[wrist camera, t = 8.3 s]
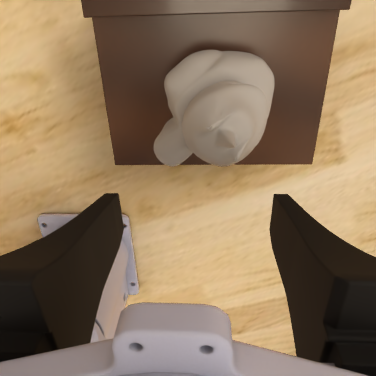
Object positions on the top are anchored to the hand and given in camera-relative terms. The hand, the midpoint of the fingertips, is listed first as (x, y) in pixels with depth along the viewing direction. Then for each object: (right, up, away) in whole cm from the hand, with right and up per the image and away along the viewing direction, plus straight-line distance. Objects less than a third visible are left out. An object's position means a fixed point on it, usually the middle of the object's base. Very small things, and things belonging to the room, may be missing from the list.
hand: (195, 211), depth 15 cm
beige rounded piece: (+1, +6, +3) cm, 7 cm away
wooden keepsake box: (+1, +9, +7) cm, 11 cm away
